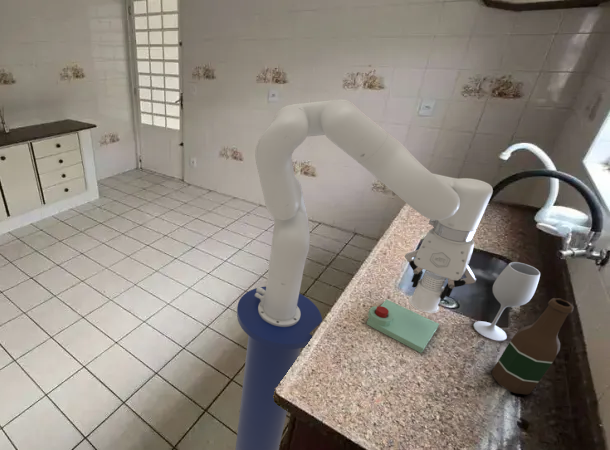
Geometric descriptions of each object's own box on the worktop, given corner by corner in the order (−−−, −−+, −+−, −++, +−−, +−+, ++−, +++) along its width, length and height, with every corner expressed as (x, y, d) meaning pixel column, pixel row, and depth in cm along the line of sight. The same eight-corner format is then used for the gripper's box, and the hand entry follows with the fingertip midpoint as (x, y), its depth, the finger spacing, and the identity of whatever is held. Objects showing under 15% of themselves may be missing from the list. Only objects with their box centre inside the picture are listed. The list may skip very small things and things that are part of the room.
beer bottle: (536, 402, 78) (596, 321, 66) (492, 386, 81) (542, 307, 70) (529, 376, 83) (582, 298, 72) (488, 362, 87) (533, 286, 76)
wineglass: (487, 342, 93) (523, 278, 83) (466, 321, 99) (496, 260, 90) (514, 341, 93) (554, 277, 83) (491, 320, 100) (525, 259, 90)
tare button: (373, 314, 98) (374, 309, 97) (377, 309, 100) (379, 304, 99) (384, 319, 96) (386, 315, 95) (388, 314, 98) (390, 310, 97)
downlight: (430, 318, 89) (444, 287, 84) (402, 304, 94) (413, 273, 89) (444, 306, 93) (457, 275, 88) (416, 292, 98) (427, 263, 93)
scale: (362, 322, 99) (365, 313, 98) (381, 301, 107) (384, 292, 105) (421, 353, 90) (425, 343, 88) (437, 328, 97) (441, 319, 96)
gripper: (408, 223, 86) (388, 282, 94) (496, 251, 75) (464, 314, 83) (418, 214, 90) (399, 270, 99) (503, 238, 79) (472, 300, 87)
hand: (429, 290), depth 91 cm, fingers closed on downlight, 5 cm apart
